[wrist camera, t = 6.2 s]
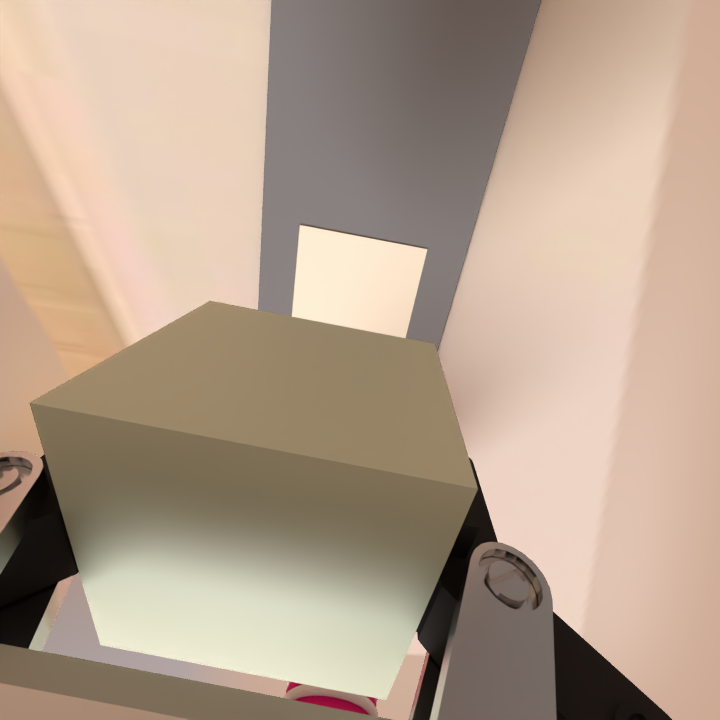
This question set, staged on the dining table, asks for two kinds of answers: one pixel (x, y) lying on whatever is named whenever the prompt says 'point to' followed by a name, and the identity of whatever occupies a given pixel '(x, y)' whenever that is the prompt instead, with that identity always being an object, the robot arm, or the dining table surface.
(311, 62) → the build mat
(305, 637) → the sage block
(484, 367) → the dining table surface
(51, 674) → the robot arm
